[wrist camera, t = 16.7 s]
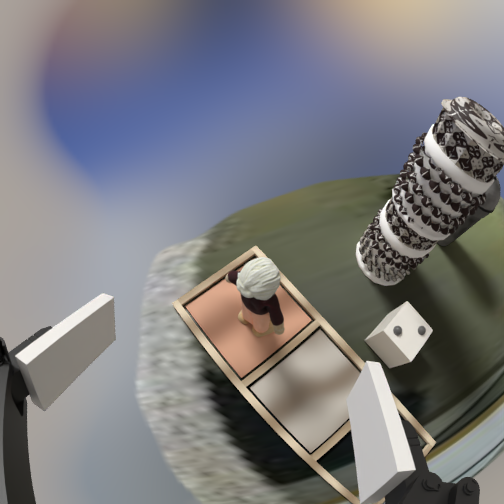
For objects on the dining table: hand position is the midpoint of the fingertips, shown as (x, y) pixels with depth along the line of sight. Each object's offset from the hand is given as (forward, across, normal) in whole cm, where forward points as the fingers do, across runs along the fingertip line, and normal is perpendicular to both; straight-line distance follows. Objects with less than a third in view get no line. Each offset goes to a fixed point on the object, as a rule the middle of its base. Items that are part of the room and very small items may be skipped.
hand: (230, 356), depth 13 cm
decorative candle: (+26, +16, +1) cm, 31 cm away
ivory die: (+18, +17, -7) cm, 26 cm away
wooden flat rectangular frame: (+13, +9, -12) cm, 20 cm away
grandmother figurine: (+18, 0, -7) cm, 19 cm away
